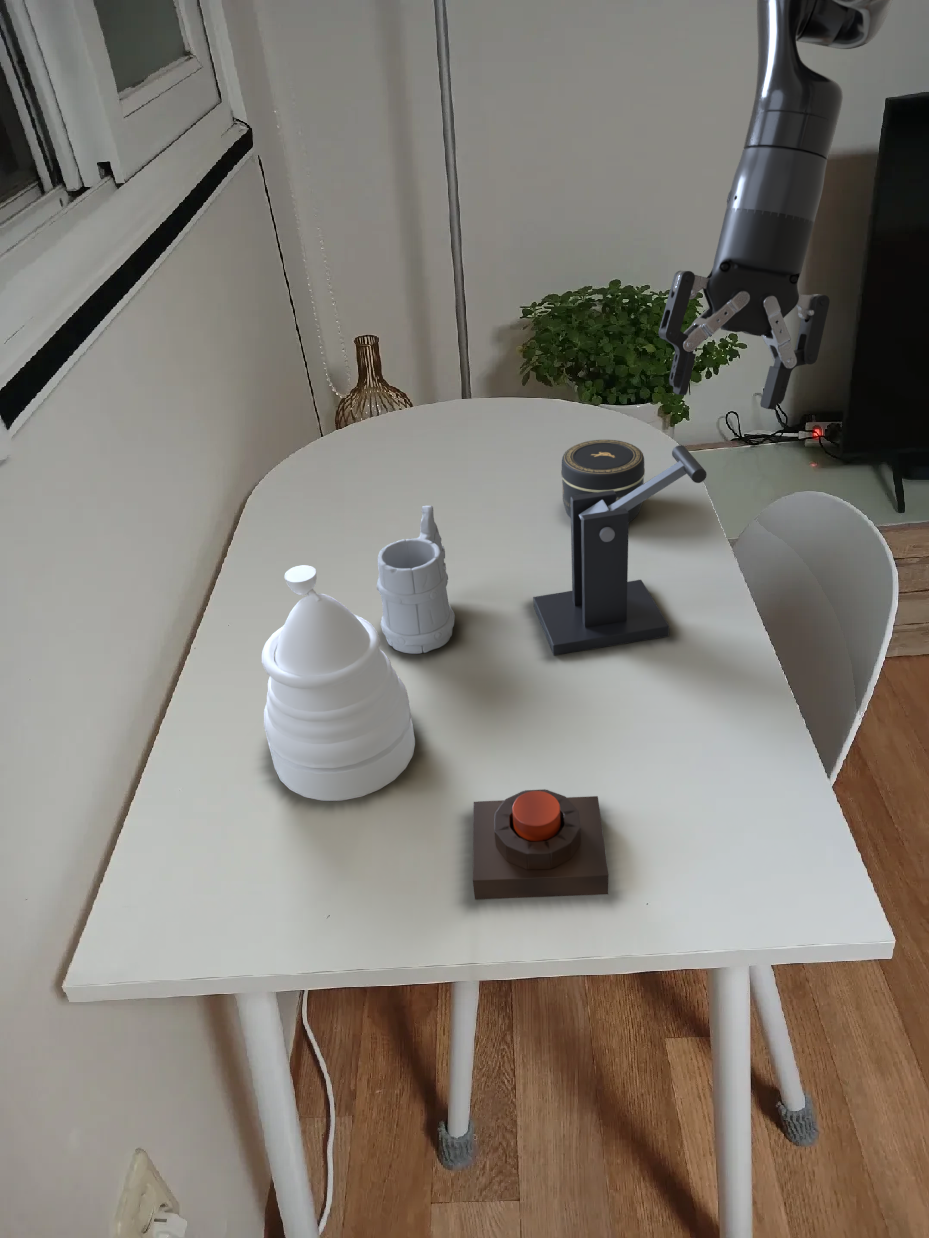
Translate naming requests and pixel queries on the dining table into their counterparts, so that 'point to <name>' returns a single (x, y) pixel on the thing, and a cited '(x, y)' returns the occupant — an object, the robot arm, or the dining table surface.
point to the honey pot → (333, 700)
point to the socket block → (539, 852)
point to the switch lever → (656, 482)
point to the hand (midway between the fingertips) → (723, 401)
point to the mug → (415, 590)
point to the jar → (602, 470)
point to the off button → (536, 816)
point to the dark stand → (599, 587)
